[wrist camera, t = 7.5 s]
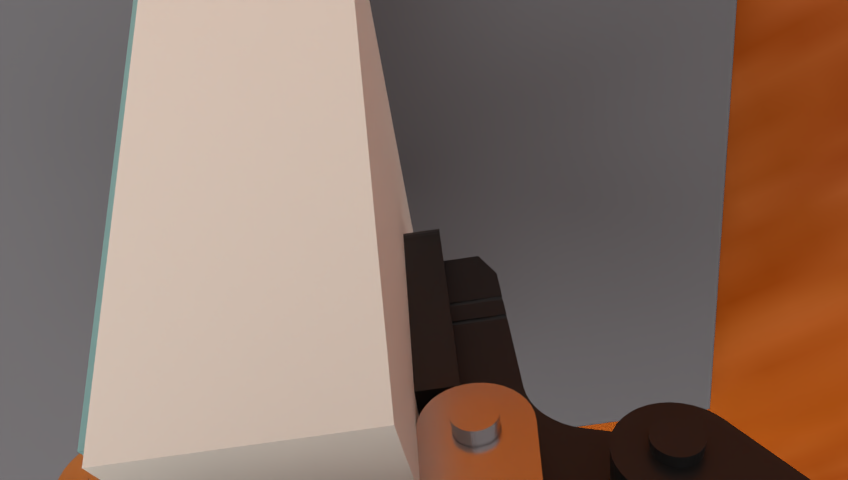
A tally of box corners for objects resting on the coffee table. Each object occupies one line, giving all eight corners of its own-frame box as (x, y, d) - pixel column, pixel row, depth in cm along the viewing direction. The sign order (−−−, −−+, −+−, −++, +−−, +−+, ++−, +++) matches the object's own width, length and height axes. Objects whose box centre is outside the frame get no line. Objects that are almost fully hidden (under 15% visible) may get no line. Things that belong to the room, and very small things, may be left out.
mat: (756, -449, 13) (767, -456, 12) (704, 398, 22) (709, 409, 22) (-459, -247, 13) (-480, -247, 13) (-6, 494, 23) (-12, 506, 22)
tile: (339, -157, 9) (393, 424, 6) (415, 246, 17) (460, 605, 13) (140, -126, 9) (61, 470, 6) (305, 262, 17) (319, 624, 13)
